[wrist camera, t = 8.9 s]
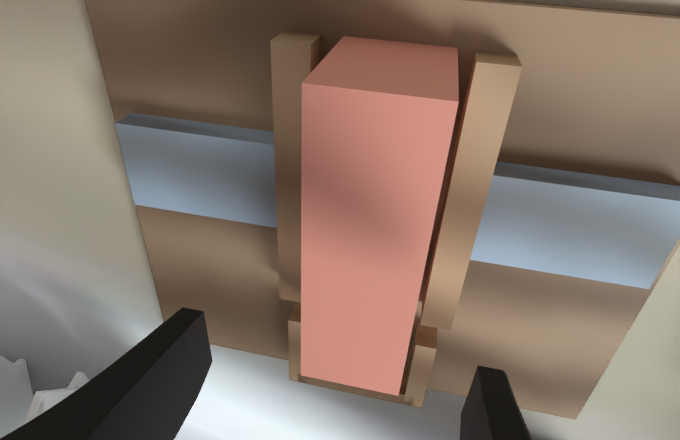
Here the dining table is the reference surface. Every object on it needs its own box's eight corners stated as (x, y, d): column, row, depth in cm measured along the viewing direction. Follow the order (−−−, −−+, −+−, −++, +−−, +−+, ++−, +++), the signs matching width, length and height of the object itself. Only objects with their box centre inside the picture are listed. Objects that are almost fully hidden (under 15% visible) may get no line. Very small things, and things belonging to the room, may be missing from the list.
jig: (573, 409, 25) (581, 445, 24) (172, 328, 29) (154, 354, 27) (795, 25, 14) (842, 41, 12) (88, -35, 17) (48, -29, 16)
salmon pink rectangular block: (410, 300, 22) (398, 396, 18) (330, 285, 23) (300, 375, 19) (458, 47, 16) (459, 101, 11) (343, 36, 16) (301, 82, 12)
